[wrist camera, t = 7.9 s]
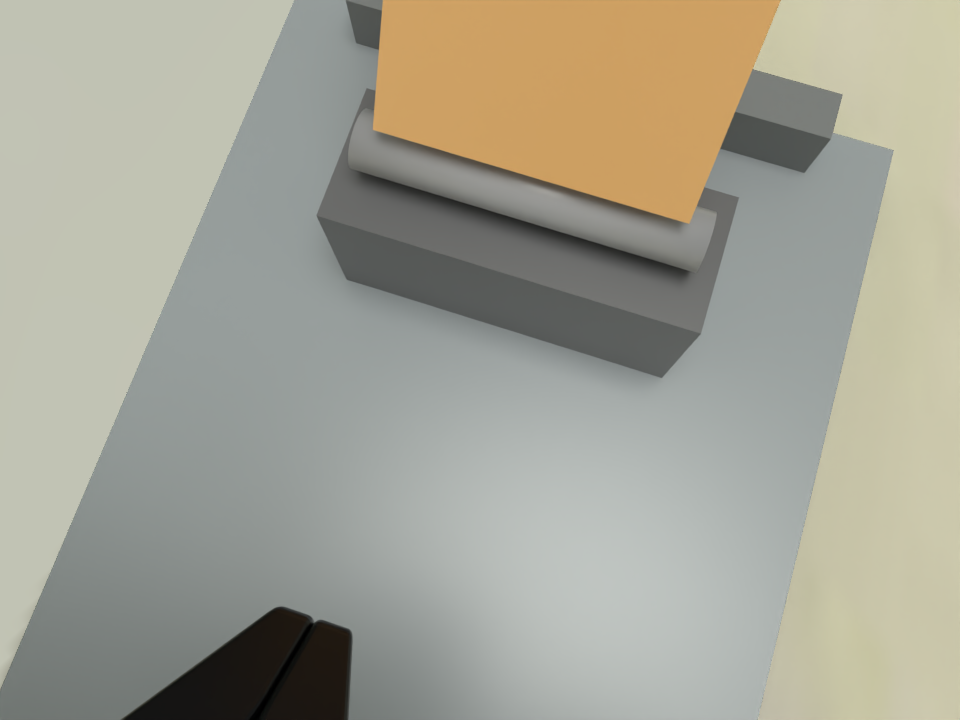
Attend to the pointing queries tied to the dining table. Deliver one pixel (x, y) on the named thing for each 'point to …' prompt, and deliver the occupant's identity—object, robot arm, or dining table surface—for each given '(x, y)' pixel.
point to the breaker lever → (565, 111)
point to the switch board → (466, 427)
